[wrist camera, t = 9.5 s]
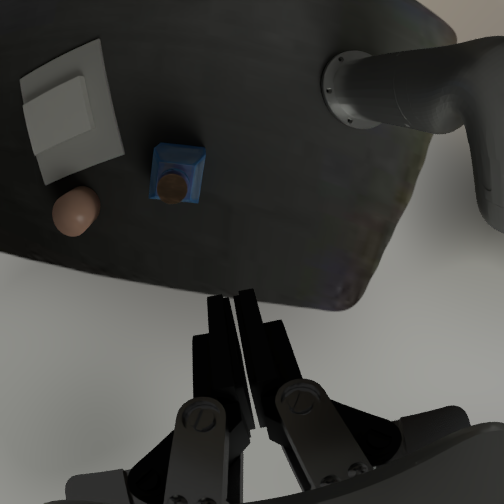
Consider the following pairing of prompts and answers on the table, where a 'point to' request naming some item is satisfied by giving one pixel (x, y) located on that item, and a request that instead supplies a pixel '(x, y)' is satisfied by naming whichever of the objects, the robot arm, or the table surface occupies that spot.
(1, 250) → the table surface
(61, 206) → the brown rounded cylinder
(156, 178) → the perfume bottle
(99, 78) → the mat
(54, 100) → the tile
